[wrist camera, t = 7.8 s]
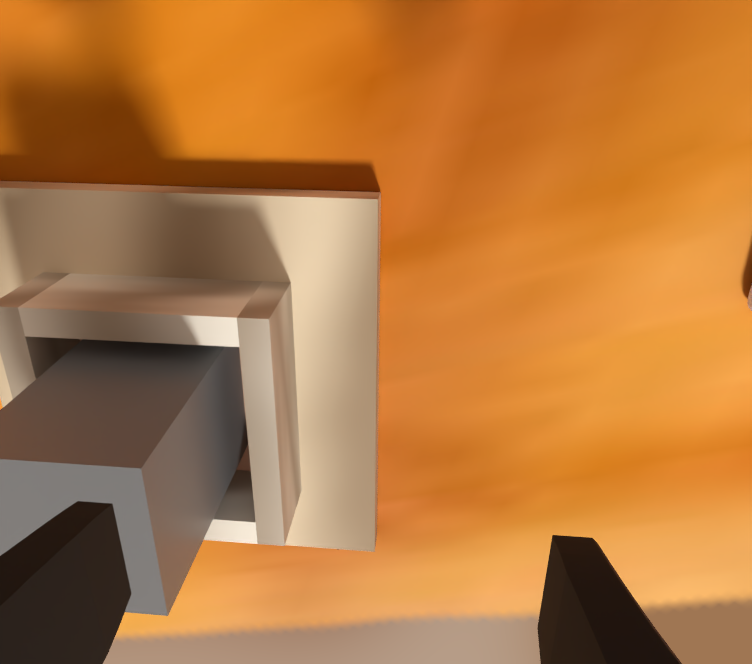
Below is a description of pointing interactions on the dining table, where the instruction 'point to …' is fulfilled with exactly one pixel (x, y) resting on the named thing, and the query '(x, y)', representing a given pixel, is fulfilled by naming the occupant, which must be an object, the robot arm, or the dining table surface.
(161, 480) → the plug
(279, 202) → the holder box
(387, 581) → the dining table surface
